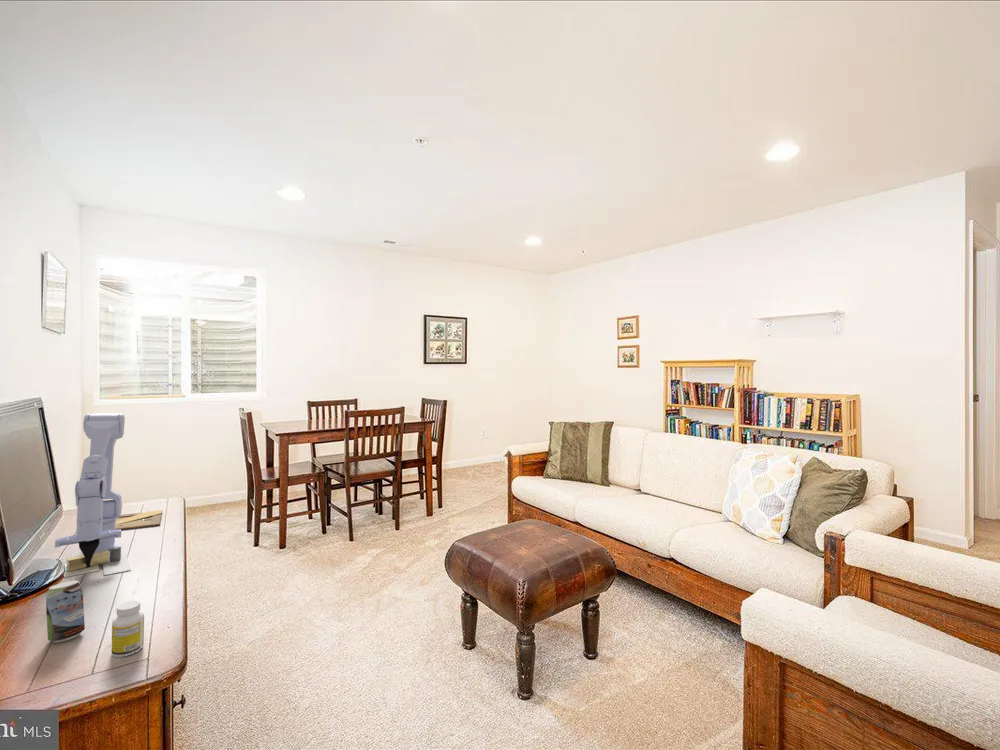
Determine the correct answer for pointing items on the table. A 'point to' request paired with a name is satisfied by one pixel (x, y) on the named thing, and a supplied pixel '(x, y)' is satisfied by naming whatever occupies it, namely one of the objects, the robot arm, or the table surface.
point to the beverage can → (65, 611)
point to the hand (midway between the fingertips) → (88, 566)
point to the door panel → (106, 565)
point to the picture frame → (138, 520)
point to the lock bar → (80, 561)
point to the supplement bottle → (127, 629)
